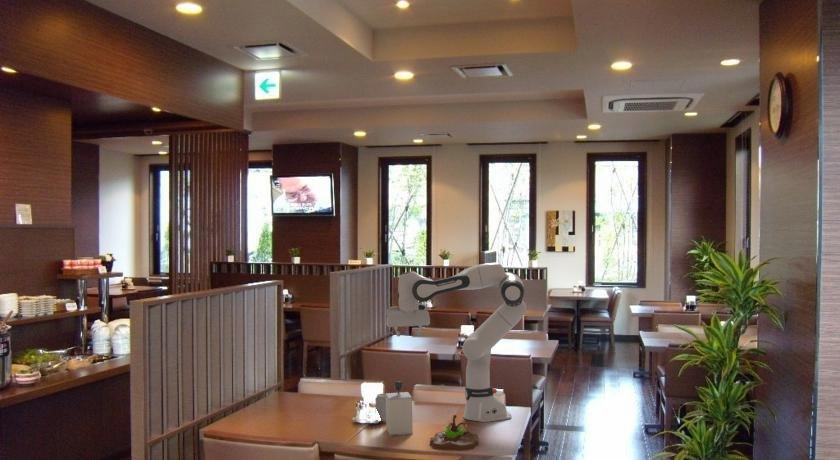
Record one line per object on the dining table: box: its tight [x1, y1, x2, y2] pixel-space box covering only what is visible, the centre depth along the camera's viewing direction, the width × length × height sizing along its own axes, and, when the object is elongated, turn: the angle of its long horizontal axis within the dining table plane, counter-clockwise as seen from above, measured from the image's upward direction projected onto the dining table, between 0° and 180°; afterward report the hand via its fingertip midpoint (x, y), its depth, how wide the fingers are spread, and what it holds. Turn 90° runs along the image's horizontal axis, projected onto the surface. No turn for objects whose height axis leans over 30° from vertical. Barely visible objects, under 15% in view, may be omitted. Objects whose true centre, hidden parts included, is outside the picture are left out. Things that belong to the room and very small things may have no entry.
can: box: [375, 393, 386, 423], centre depth 319 cm, size 8×8×12 cm
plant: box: [429, 414, 479, 451], centre depth 284 cm, size 20×20×11 cm
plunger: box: [394, 380, 404, 396], centre depth 300 cm, size 8×8×21 cm
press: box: [385, 391, 414, 437], centre depth 300 cm, size 10×10×16 cm
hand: (408, 335), depth 319 cm, fingers open, 8 cm apart
